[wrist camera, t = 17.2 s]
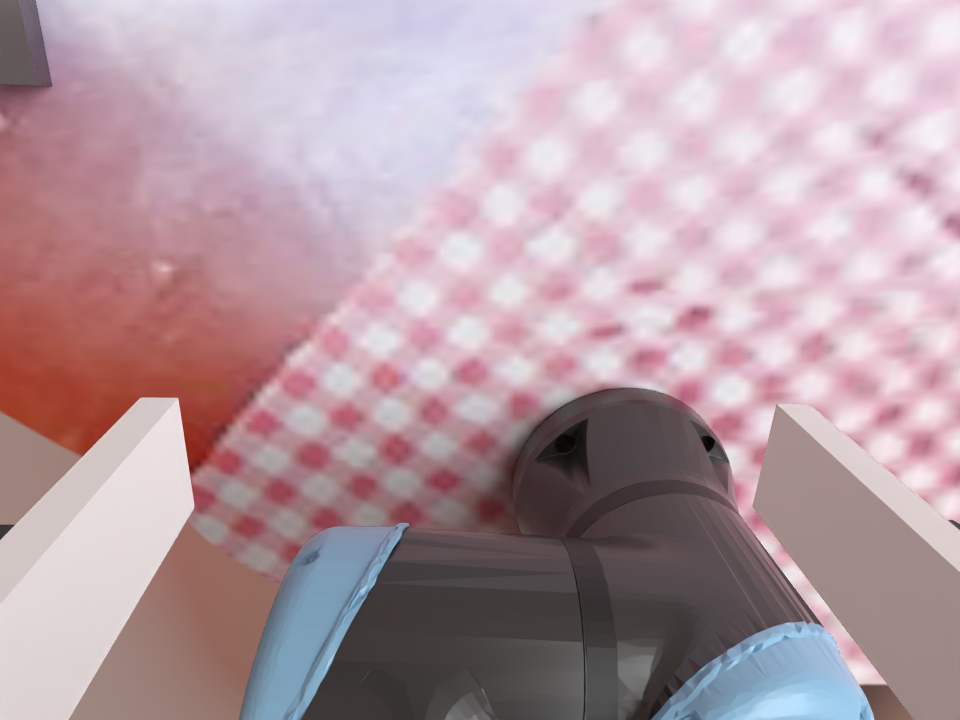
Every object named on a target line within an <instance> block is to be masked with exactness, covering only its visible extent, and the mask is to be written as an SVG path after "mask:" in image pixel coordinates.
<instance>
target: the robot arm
mask: <svg viewBox="0 0 960 720" xmlns="http://www.w3.org/2000/svg"><path fill="white" fill-rule="evenodd" d="M512 493H513V502H514V508H515V513H516V518H517V522H518V526H519V529H520V532H521V534H508V533H490V532H473V531H455V530H437V529H419V528H409V524H408V523H398V524H397V525H396V526H338V527H331V528H328V529H325V530H323V531H321V532H319V533H317V534H315V535H314V536H313V537H311V538H310V539H309V540H308V541H307V542H306V543H305V544H304V545H303V546H302V548H301V549H300V550H299V552H298V553H297V555H296V556H295V558H294V559H293V561H292V563H291V565H290V567H289V568H288V571H287V573H286V575H285V577H284V579H283V581H282V584H281V586H280V588H279V591H278V593H277V595H276V598H275V600H274V603H273V606H272V608H271V611H270V614H269V617H268V619H267V622H266V625H265V628H264V631H263V634H262V637H261V640H260V643H259V646H258V649H257V653H256V656H255V659H254V662H253V666H252V669H251V673H250V677H249V680H248V684H247V688H246V692H245V696H244V700H243V704H242V708H241V713H240V717H239V720H874V717H873V713H872V710H871V708H870V705H869V703H868V700H867V698H866V696H865V694H864V693H863V691H862V690H861V688H860V686H859V684H858V683H857V681H856V680H855V678H854V676H853V675H852V673H851V672H850V670H849V668H848V667H847V665H846V664H845V662H844V660H843V659H842V657H841V656H840V651H839V647H838V645H837V643H836V641H835V640H834V639H833V637H832V636H831V635H830V633H828V632H827V631H826V629H825V628H824V627H823V625H822V624H821V623H820V621H819V620H818V619H817V617H816V616H815V615H814V613H813V612H812V611H811V609H810V608H809V607H808V605H807V604H806V603H805V601H804V600H803V599H802V597H801V596H800V595H799V593H798V592H797V591H796V589H795V588H794V587H793V585H792V584H791V583H790V581H789V580H788V579H787V577H786V576H785V575H784V573H783V572H782V571H781V569H780V568H779V567H778V565H777V564H776V563H775V561H774V560H773V559H772V557H771V556H770V555H769V553H768V552H767V551H766V549H765V548H764V547H763V545H762V544H761V543H760V541H759V540H758V539H757V537H756V536H755V535H754V533H753V532H752V531H751V529H750V528H749V527H748V526H747V524H746V523H745V522H744V520H743V519H742V517H741V516H740V514H739V512H738V506H737V500H736V495H735V489H734V483H733V477H732V471H731V466H730V463H729V460H728V457H727V454H726V452H725V450H724V448H723V446H722V444H721V442H720V441H719V439H718V438H717V436H716V435H715V434H714V432H713V431H712V430H711V429H710V428H709V426H708V425H707V424H706V423H705V421H704V420H703V419H702V418H701V417H700V416H699V415H698V414H697V413H696V412H695V411H694V410H693V409H691V408H690V407H689V406H687V405H686V404H684V403H683V402H681V401H679V400H677V399H675V398H673V397H671V396H669V395H666V394H663V393H660V392H656V391H651V390H646V389H636V388H621V389H612V390H605V391H601V392H597V393H593V394H590V395H587V396H585V397H582V398H580V399H577V400H575V401H573V402H571V403H569V404H567V405H566V406H564V407H562V408H561V409H559V410H558V411H556V412H555V413H554V414H552V415H551V416H550V417H549V418H547V419H546V420H545V421H544V422H543V423H542V424H541V425H540V426H539V427H538V428H537V429H536V430H535V431H534V433H533V434H532V435H531V437H530V438H529V439H528V441H527V442H526V444H525V446H524V448H523V449H522V451H521V453H520V456H519V458H518V461H517V463H516V467H515V470H514V475H513V483H512ZM194 507H195V506H194V499H193V493H192V486H191V479H190V473H189V466H188V460H187V453H186V447H185V440H184V433H183V427H182V420H181V414H180V407H179V400H178V398H140V399H139V400H138V401H137V402H136V403H135V404H134V405H133V406H132V407H131V408H130V409H129V410H128V411H127V412H126V413H125V414H124V415H123V416H122V417H121V418H120V419H119V420H118V421H117V422H116V423H115V424H114V425H113V426H112V427H111V428H110V429H109V430H108V431H107V432H106V433H105V434H104V435H103V436H102V437H101V438H100V439H99V440H98V441H97V442H96V443H95V445H94V446H93V447H92V448H91V449H90V450H89V451H88V452H87V453H86V454H85V455H84V456H83V457H82V458H81V459H80V460H79V461H78V462H77V463H76V464H75V465H74V466H73V467H72V468H71V469H70V470H69V471H68V472H67V473H66V474H65V475H64V476H63V477H62V478H61V479H60V480H59V481H58V482H57V483H56V484H55V485H54V486H53V487H52V488H51V489H50V490H49V491H48V492H47V493H46V494H45V495H44V496H43V497H42V498H41V499H40V500H39V501H38V502H37V503H36V504H35V505H34V506H33V507H32V508H31V509H30V510H29V512H27V513H26V515H25V516H23V518H22V519H21V520H20V521H19V522H18V523H17V524H16V525H0V720H69V718H70V716H71V715H72V713H73V711H74V710H75V708H76V706H77V705H78V703H79V701H80V699H81V698H82V696H83V694H84V693H85V691H86V689H87V687H88V686H89V684H90V683H91V681H92V679H93V678H94V676H95V674H96V673H97V671H98V669H99V667H100V666H101V664H102V662H103V661H104V659H105V657H106V656H107V654H108V652H109V650H110V649H111V647H112V645H113V644H114V642H115V641H116V639H117V637H118V635H119V634H120V632H121V630H122V629H123V627H124V625H125V624H126V622H127V620H128V618H129V617H130V615H131V614H132V612H133V610H134V608H135V607H136V605H137V603H138V602H139V600H140V598H141V597H142V595H143V593H144V592H145V590H146V588H147V587H148V585H149V583H150V582H151V580H152V578H153V576H154V575H155V573H156V571H157V570H158V568H159V566H160V564H161V563H162V561H163V560H164V558H165V556H166V555H167V553H168V551H169V550H170V548H171V546H172V544H173V543H174V541H175V539H176V538H177V536H178V534H179V533H180V531H181V529H182V527H183V526H184V524H185V523H186V521H187V519H188V518H189V516H190V514H191V513H192V511H193V509H194ZM753 508H754V509H755V510H756V512H757V513H758V514H759V516H760V517H761V518H762V520H763V521H764V522H765V524H766V525H767V526H768V528H769V529H770V530H771V532H772V533H773V534H774V536H775V537H776V538H777V539H778V541H779V542H780V543H781V545H782V546H783V547H784V549H785V550H786V551H787V553H788V554H789V555H790V557H791V558H792V559H793V561H794V562H795V563H796V564H797V566H798V567H799V568H800V570H801V571H802V572H803V574H804V575H805V576H806V578H807V579H808V580H809V582H810V583H811V584H812V586H813V587H814V588H815V590H816V591H817V592H818V593H819V595H820V596H821V597H822V599H823V600H824V601H825V603H826V604H827V605H828V607H829V608H830V609H831V611H832V612H833V613H834V615H835V616H836V617H837V619H838V620H839V621H840V622H841V624H842V625H843V626H844V628H845V629H846V630H847V632H848V633H849V634H850V636H851V637H852V638H853V640H854V641H855V642H856V644H857V645H858V646H859V648H860V649H861V650H862V651H863V653H864V654H865V655H866V657H867V658H868V659H869V661H870V662H871V663H872V665H873V666H874V667H875V669H876V670H877V671H878V673H879V674H880V675H881V676H882V678H883V679H884V680H885V682H886V683H887V684H888V686H889V687H890V688H891V690H892V691H893V692H894V694H895V695H896V696H897V698H898V699H899V700H900V702H901V703H902V704H903V705H904V707H905V708H906V709H907V711H908V712H909V713H910V715H911V716H912V717H913V719H914V720H960V524H959V523H957V522H955V521H953V520H947V519H946V518H944V517H943V516H942V515H941V514H940V513H938V512H937V511H936V510H935V509H934V508H932V507H931V506H930V505H929V504H928V503H927V502H925V501H924V500H923V499H922V498H921V497H919V496H918V495H917V494H916V493H915V492H913V491H912V490H911V489H910V488H909V487H907V486H906V485H905V484H904V483H903V482H901V481H900V480H899V479H898V478H897V477H896V476H894V475H893V474H892V473H891V472H890V471H888V470H887V469H886V468H885V467H884V466H882V465H881V464H880V463H879V462H878V461H876V460H875V459H874V458H873V457H872V456H870V455H869V454H868V453H867V452H866V451H865V450H863V449H862V448H861V447H860V446H859V445H857V444H856V443H855V442H854V441H853V440H851V439H850V438H849V437H848V436H847V435H845V434H844V433H843V432H842V431H841V430H839V429H838V428H837V427H836V426H835V425H833V424H832V423H831V422H830V421H829V420H828V419H826V418H825V417H824V416H823V415H822V414H820V413H819V412H818V411H817V410H816V409H814V408H813V407H812V406H811V405H810V404H777V405H776V409H775V413H774V417H773V422H772V426H771V430H770V434H769V439H768V443H767V447H766V451H765V456H764V460H763V464H762V468H761V473H760V477H759V481H758V485H757V490H756V494H755V498H754V502H753Z"/></svg>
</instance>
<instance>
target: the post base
mask: <svg viewBox="0 0 960 720" xmlns="http://www.w3.org/2000/svg"><path fill="white" fill-rule="evenodd" d="M0 84H11V85H35V86H52V83H51V78H50V73H49V68H48V63H47V58H46V52H45V47H44V42H43V37H42V32H41V27H40V21H39V16H38V11H37V6H36V1H35V0H0Z"/></svg>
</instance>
